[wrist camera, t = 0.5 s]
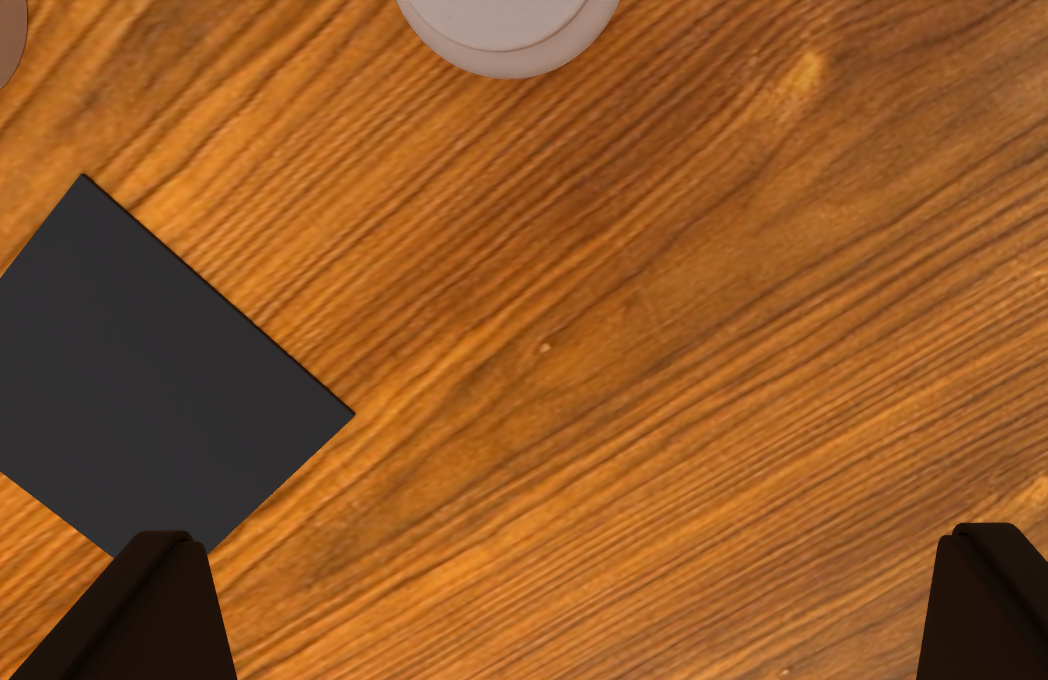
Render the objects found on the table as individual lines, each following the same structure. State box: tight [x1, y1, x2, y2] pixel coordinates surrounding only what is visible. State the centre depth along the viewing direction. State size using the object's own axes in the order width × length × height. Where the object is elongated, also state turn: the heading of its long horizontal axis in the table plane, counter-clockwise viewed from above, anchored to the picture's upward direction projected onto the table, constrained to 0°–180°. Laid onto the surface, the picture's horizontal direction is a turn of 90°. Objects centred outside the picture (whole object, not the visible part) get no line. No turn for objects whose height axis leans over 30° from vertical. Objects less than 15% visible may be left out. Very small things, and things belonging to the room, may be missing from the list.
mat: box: [0, 174, 355, 559], centre depth 34 cm, size 14×14×1 cm
